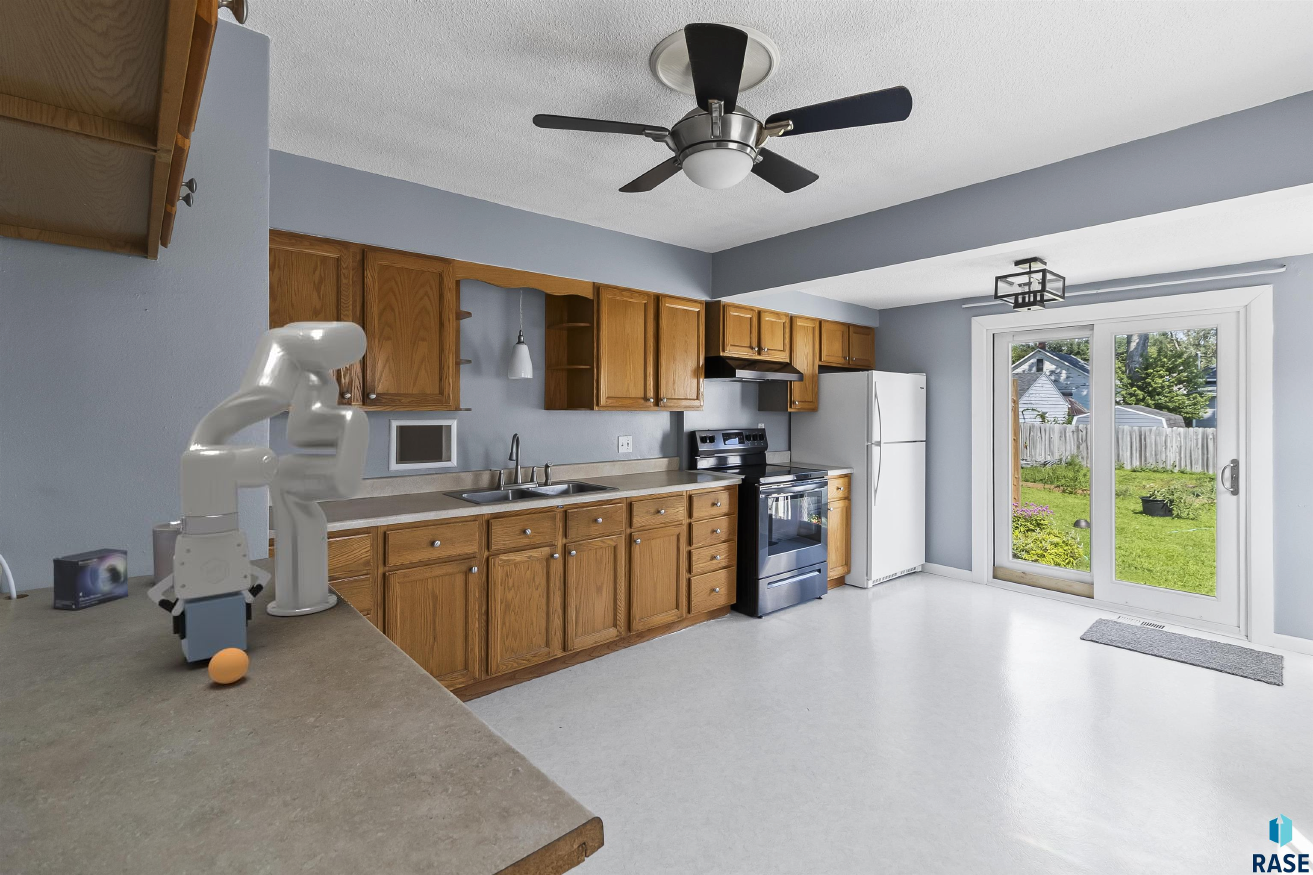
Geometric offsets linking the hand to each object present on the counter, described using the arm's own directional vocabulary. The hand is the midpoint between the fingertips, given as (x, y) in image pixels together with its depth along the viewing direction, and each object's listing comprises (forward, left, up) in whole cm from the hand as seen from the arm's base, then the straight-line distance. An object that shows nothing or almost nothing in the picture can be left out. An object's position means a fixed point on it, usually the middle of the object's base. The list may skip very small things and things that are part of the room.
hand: (213, 630), depth 103 cm
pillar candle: (-57, -21, -5) cm, 61 cm away
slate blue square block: (0, 0, -3) cm, 3 cm away
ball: (+12, +5, -2) cm, 13 cm away
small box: (-45, -33, -5) cm, 56 cm away
